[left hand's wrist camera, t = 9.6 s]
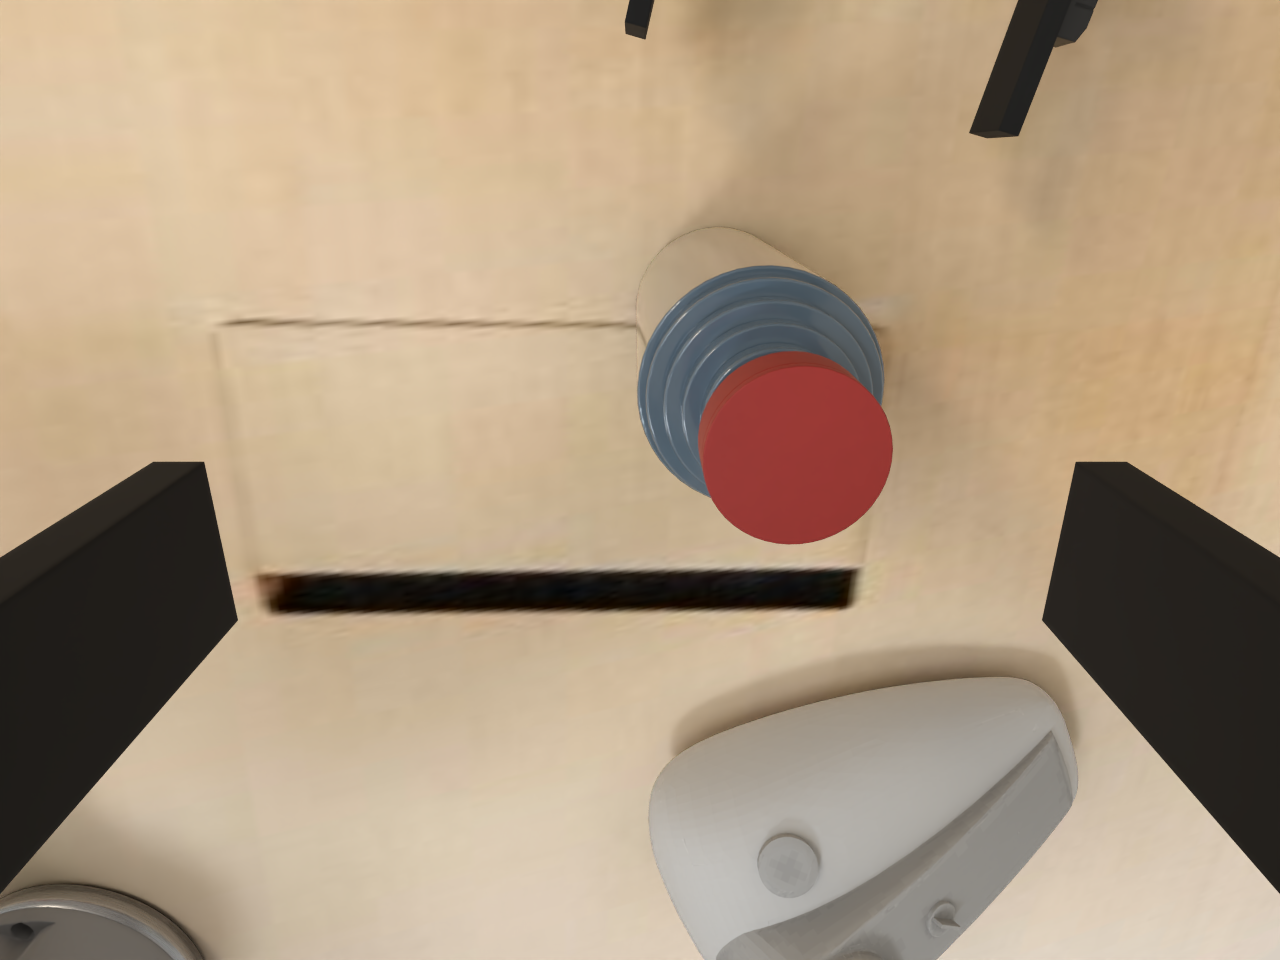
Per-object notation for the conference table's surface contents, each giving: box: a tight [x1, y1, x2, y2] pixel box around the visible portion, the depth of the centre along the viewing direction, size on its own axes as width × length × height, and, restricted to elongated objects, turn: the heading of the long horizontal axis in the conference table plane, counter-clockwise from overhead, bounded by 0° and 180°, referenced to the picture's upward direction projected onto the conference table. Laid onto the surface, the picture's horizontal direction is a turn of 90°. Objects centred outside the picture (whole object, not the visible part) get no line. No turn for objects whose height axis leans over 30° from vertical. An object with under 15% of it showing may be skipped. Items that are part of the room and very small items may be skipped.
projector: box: [649, 677, 1078, 960], centre depth 42 cm, size 22×23×15 cm
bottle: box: [636, 227, 884, 498], centre depth 29 cm, size 8×8×20 cm
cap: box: [698, 351, 893, 544], centre depth 20 cm, size 4×4×2 cm
